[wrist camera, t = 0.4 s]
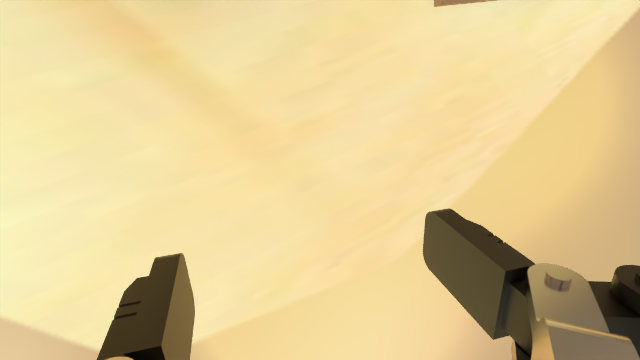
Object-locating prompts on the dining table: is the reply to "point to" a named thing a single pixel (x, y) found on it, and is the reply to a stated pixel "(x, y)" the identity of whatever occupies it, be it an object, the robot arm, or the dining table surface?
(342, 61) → the dining table surface
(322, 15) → the dining table surface
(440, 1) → the puzzle board
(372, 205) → the dining table surface
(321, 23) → the dining table surface
